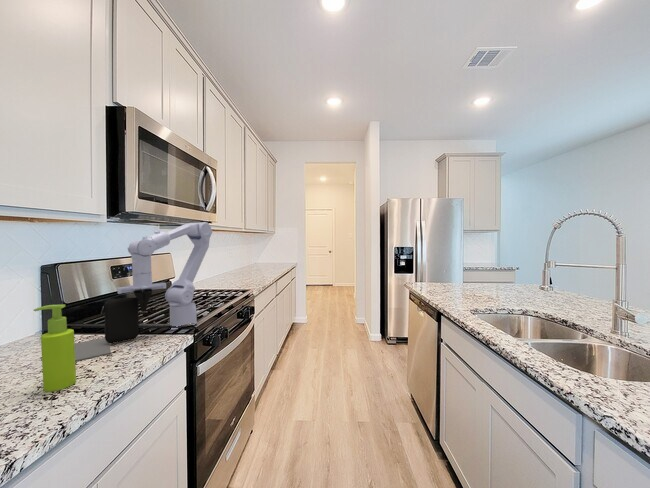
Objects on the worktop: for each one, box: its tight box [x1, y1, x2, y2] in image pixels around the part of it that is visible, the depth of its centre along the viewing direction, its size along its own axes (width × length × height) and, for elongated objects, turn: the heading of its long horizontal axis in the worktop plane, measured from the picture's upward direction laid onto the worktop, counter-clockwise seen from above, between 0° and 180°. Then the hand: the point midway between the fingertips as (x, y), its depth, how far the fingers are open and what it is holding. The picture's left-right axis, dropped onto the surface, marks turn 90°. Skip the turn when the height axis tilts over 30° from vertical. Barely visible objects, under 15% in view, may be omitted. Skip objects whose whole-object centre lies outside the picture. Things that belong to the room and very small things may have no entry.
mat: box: [74, 337, 112, 363], centre depth 90 cm, size 14×18×1 cm
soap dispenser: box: [33, 303, 77, 393], centre depth 69 cm, size 6×7×20 cm
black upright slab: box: [100, 297, 140, 344], centre depth 98 cm, size 11×3×15 cm, turn 136°
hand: (143, 310), depth 101 cm, fingers closed
